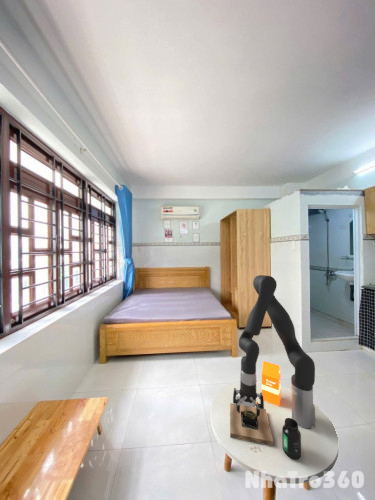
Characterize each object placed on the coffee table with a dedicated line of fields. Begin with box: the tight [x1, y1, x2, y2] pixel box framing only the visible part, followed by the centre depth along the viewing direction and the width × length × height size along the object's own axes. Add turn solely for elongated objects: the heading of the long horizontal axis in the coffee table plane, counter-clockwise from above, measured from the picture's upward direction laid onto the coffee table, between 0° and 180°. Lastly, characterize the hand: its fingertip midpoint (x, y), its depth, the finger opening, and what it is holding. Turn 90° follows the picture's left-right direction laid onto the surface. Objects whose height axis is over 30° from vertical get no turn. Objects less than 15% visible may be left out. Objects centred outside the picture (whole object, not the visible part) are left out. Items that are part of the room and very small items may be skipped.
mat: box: [236, 395, 255, 407], centre depth 105 cm, size 9×8×1 cm
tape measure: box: [241, 410, 258, 429], centre depth 93 cm, size 7×7×4 cm
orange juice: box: [261, 360, 282, 407], centre depth 109 cm, size 8×9×20 cm
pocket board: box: [229, 402, 274, 447], centre depth 92 cm, size 18×18×2 cm
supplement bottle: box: [281, 417, 302, 461], centre depth 79 cm, size 7×7×12 cm
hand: (247, 413), depth 93 cm, fingers open, 8 cm apart
